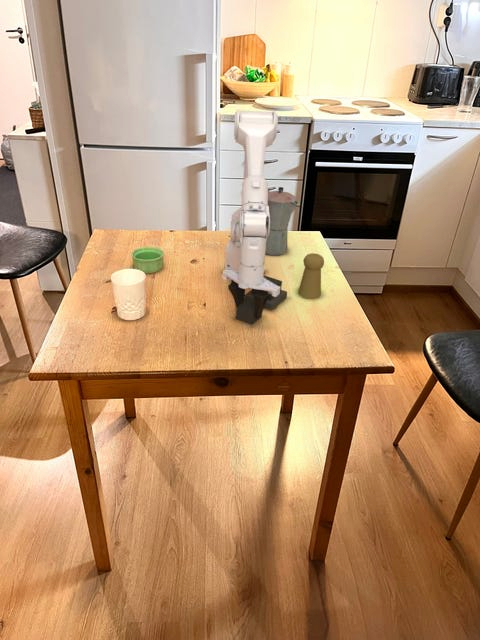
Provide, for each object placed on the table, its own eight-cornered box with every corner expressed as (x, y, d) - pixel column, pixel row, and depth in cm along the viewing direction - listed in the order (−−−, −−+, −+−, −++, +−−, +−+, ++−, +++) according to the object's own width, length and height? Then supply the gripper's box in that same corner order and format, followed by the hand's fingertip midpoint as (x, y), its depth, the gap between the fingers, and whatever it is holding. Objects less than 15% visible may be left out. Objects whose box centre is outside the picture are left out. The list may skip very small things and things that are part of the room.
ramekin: (170, 270, 140) (169, 255, 138) (140, 277, 136) (139, 262, 133) (156, 257, 146) (155, 244, 144) (127, 264, 142) (126, 250, 139)
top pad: (235, 319, 120) (236, 307, 118) (245, 310, 123) (246, 299, 121) (251, 325, 118) (252, 313, 116) (261, 316, 121) (262, 305, 119)
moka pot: (286, 261, 148) (293, 196, 137) (242, 248, 154) (245, 184, 143) (300, 250, 155) (308, 187, 144) (257, 238, 161) (261, 177, 150)
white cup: (153, 308, 122) (151, 272, 117) (138, 324, 116) (135, 287, 110) (125, 302, 124) (122, 266, 119) (108, 317, 118) (104, 280, 112)
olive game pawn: (320, 300, 129) (325, 262, 123) (297, 297, 130) (301, 259, 124) (321, 289, 134) (327, 252, 128) (299, 286, 135) (303, 249, 129)
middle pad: (251, 294, 126) (251, 283, 125) (262, 285, 130) (263, 274, 129) (270, 300, 124) (271, 289, 122) (281, 292, 128) (282, 281, 126)
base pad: (244, 301, 127) (244, 294, 126) (260, 289, 133) (260, 282, 132) (271, 311, 124) (272, 304, 122) (286, 298, 129) (287, 291, 128)
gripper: (215, 259, 113) (214, 310, 120) (271, 277, 106) (266, 330, 114) (232, 249, 118) (230, 298, 125) (286, 265, 111) (281, 316, 119)
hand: (248, 312), depth 120 cm, fingers closed on top pad, 4 cm apart
